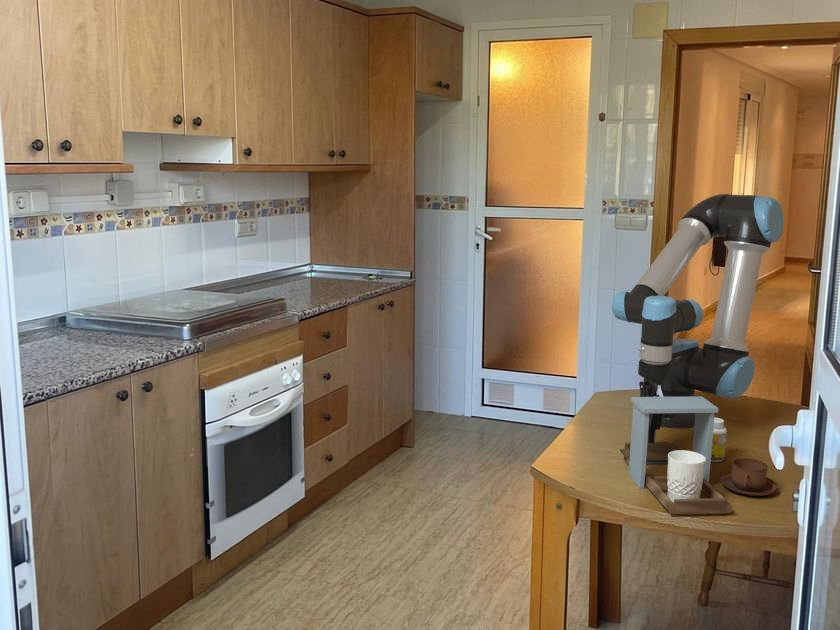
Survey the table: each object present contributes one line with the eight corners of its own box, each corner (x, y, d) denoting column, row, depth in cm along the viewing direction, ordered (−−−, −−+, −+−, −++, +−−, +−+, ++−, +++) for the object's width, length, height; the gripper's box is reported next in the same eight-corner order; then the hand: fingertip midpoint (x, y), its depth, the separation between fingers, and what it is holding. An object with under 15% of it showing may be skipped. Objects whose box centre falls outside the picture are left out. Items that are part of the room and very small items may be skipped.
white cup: (702, 495, 187) (705, 452, 185) (702, 509, 179) (705, 465, 177) (665, 490, 189) (668, 448, 187) (663, 504, 182) (667, 460, 180)
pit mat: (619, 450, 213) (620, 449, 213) (658, 449, 214) (658, 448, 214) (632, 465, 204) (632, 464, 203) (672, 464, 204) (672, 463, 204)
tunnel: (625, 474, 198) (631, 397, 194) (695, 473, 199) (702, 396, 195) (638, 489, 189) (644, 409, 185) (711, 488, 190) (718, 408, 187)
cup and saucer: (782, 502, 184) (784, 476, 182) (724, 498, 186) (727, 472, 184) (768, 481, 195) (771, 456, 194) (715, 477, 197) (717, 452, 196)
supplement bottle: (695, 456, 210) (698, 417, 208) (712, 453, 212) (716, 415, 210) (711, 464, 205) (714, 424, 203) (728, 461, 207) (732, 421, 205)
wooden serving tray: (623, 458, 206) (624, 442, 205) (675, 458, 207) (676, 441, 206) (670, 514, 175) (672, 494, 174) (730, 512, 176) (732, 493, 175)
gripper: (631, 353, 208) (624, 443, 213) (648, 367, 195) (641, 462, 200) (660, 353, 208) (653, 443, 213) (680, 367, 196) (671, 462, 200)
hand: (647, 453), depth 207 cm, fingers closed
